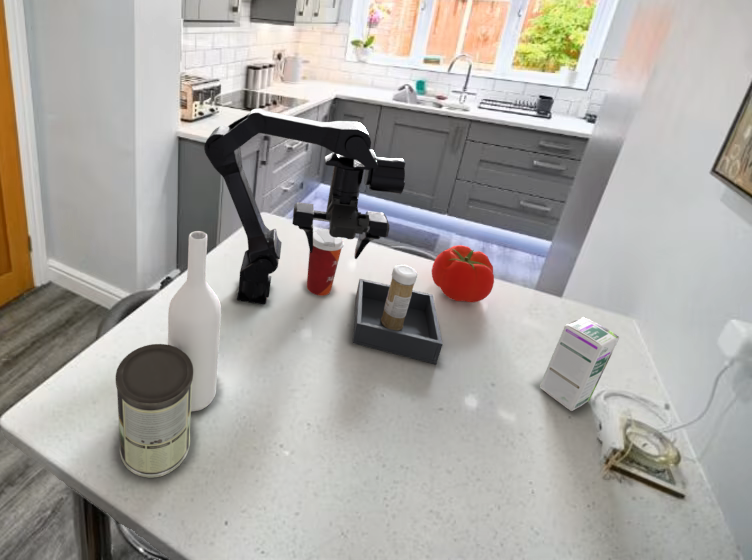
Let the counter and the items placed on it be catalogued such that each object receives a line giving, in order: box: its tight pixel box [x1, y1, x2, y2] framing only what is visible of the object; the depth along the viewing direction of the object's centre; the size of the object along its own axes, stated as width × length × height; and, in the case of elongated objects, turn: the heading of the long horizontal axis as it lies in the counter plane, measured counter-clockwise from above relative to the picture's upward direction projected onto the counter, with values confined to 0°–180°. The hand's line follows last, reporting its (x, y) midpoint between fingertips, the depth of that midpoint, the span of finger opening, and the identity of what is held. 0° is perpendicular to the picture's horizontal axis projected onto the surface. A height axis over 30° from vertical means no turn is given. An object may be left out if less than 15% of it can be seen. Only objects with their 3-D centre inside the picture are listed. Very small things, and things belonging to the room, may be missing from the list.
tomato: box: [431, 244, 495, 303], centre depth 102 cm, size 14×13×10 cm
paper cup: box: [306, 228, 345, 297], centre depth 99 cm, size 8×8×14 cm
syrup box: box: [539, 316, 620, 412], centre depth 75 cm, size 6×6×14 cm
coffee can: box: [115, 343, 193, 479], centre depth 61 cm, size 10×10×14 cm
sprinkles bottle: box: [381, 264, 418, 331], centre depth 88 cm, size 5×5×14 cm
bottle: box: [167, 230, 222, 412], centre depth 67 cm, size 8×8×30 cm
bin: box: [352, 278, 444, 365], centre depth 90 cm, size 16×16×5 cm
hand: (333, 254), depth 91 cm, fingers open, 9 cm apart
